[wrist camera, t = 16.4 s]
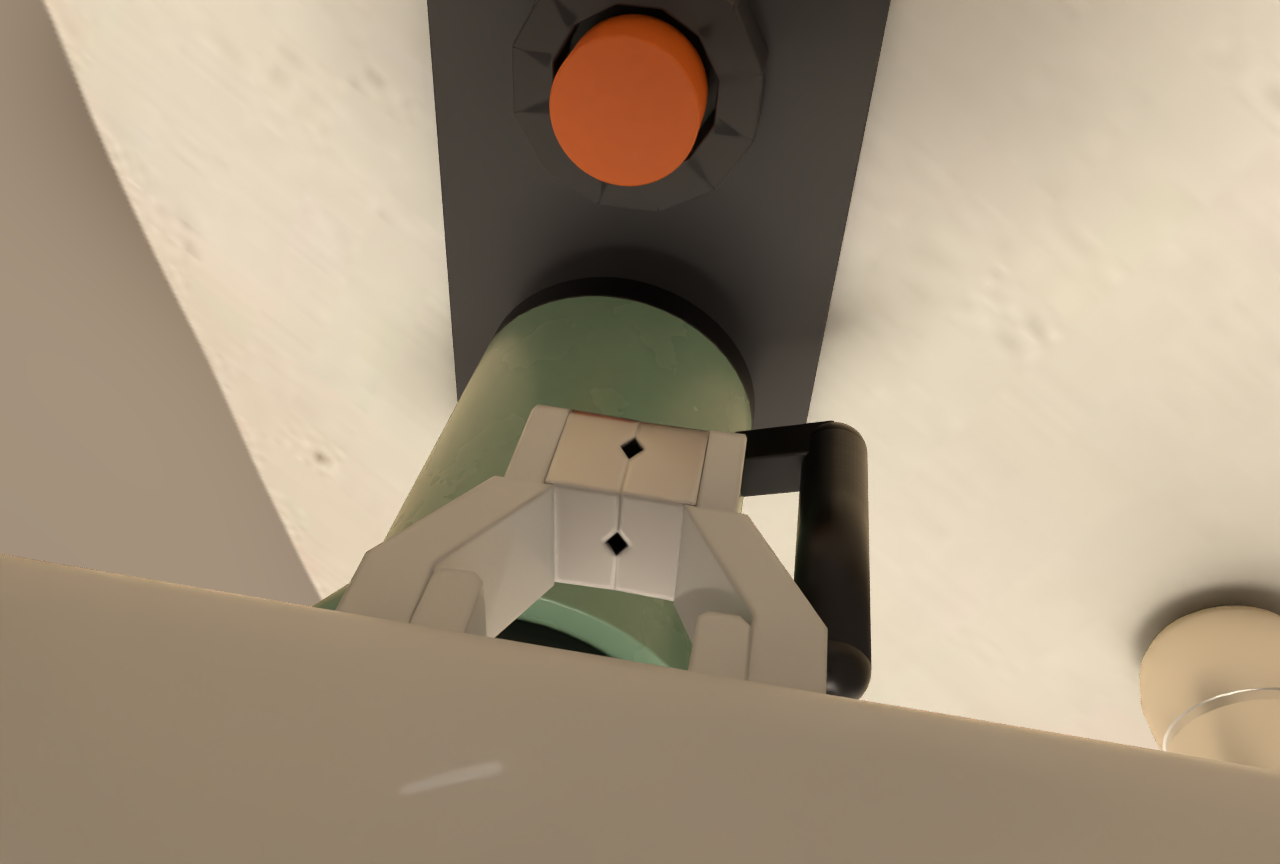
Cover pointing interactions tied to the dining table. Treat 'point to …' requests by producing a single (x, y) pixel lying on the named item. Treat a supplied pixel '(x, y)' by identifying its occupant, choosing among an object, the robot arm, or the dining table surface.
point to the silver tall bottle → (1216, 686)
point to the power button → (629, 100)
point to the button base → (675, 205)
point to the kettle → (664, 394)
